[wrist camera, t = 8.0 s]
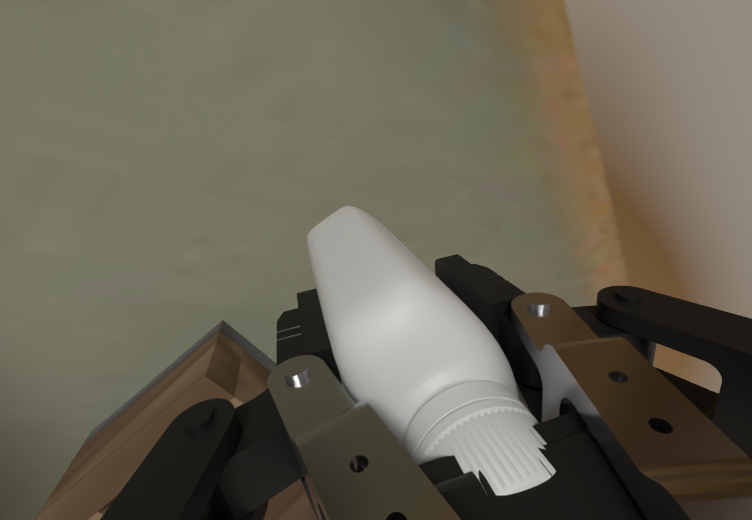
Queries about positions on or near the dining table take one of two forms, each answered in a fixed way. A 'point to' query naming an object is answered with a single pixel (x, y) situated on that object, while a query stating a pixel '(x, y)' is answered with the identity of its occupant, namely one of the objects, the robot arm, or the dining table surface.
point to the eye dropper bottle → (421, 355)
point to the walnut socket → (153, 416)
